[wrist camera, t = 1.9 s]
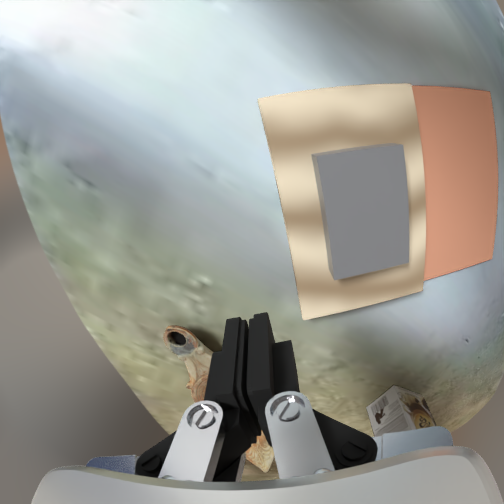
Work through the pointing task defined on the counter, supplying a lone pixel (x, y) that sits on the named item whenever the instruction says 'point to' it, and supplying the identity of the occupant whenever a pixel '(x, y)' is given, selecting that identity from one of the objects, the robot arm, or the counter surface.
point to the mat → (457, 176)
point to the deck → (306, 194)
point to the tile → (363, 208)
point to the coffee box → (399, 412)
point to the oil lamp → (198, 370)
